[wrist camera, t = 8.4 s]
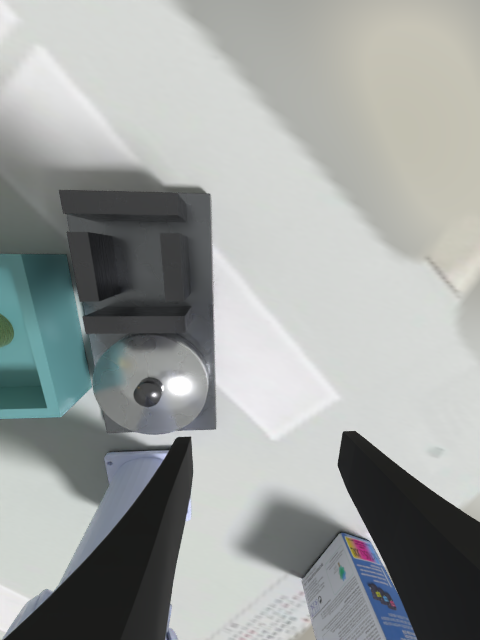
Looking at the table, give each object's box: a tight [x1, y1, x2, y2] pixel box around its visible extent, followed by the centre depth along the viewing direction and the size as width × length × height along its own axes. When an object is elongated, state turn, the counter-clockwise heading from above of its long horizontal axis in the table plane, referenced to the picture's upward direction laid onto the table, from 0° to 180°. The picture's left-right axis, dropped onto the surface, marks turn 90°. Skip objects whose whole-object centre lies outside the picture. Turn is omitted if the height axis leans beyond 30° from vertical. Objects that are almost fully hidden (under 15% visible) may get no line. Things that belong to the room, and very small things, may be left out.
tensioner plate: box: [59, 190, 216, 434], centre depth 17 cm, size 20×10×4 cm, turn 179°
